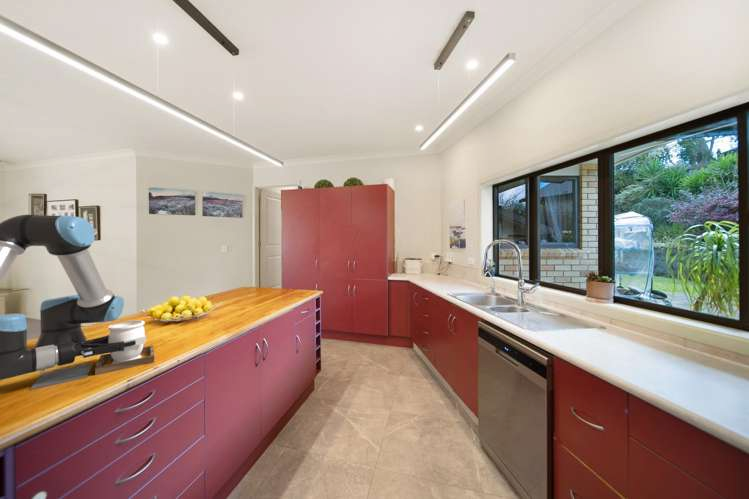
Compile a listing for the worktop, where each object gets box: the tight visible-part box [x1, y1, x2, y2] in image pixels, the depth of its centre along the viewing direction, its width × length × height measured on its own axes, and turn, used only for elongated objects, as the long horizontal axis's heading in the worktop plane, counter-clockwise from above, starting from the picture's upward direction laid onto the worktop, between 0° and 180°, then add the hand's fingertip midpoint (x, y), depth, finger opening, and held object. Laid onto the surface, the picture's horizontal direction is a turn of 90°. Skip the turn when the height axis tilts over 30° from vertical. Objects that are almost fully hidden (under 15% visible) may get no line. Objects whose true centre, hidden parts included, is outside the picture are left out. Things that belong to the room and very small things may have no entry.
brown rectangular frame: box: [94, 345, 155, 376], centre depth 103 cm, size 15×16×2 cm
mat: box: [30, 362, 93, 391], centre depth 92 cm, size 14×12×1 cm
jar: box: [108, 319, 146, 364], centre depth 103 cm, size 11×10×15 cm
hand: (141, 336), depth 107 cm, fingers closed on jar, 10 cm apart
